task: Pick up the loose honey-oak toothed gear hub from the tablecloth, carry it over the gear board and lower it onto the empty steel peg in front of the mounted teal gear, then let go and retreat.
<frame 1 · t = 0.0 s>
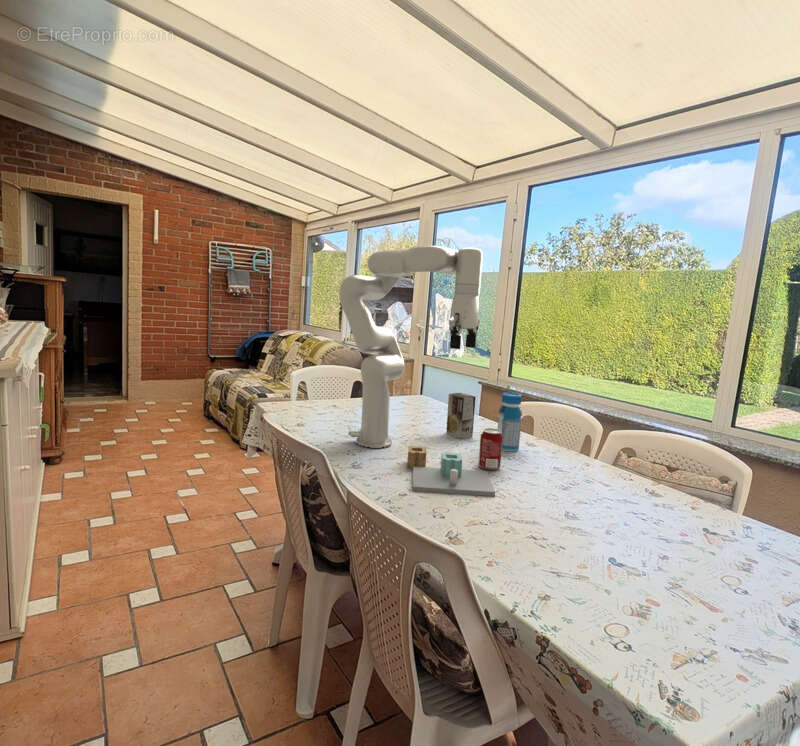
hand: (462, 348, 143), 37 cm above the table, tool pointing down, fingers open, 9 cm apart
gear board: (451, 482, 134), on the table
oak gear: (416, 464, 147), on the table
beverage bottle: (507, 449, 170), on the table
soda can: (488, 468, 148), on the table
coffee box: (459, 435, 184), on the table
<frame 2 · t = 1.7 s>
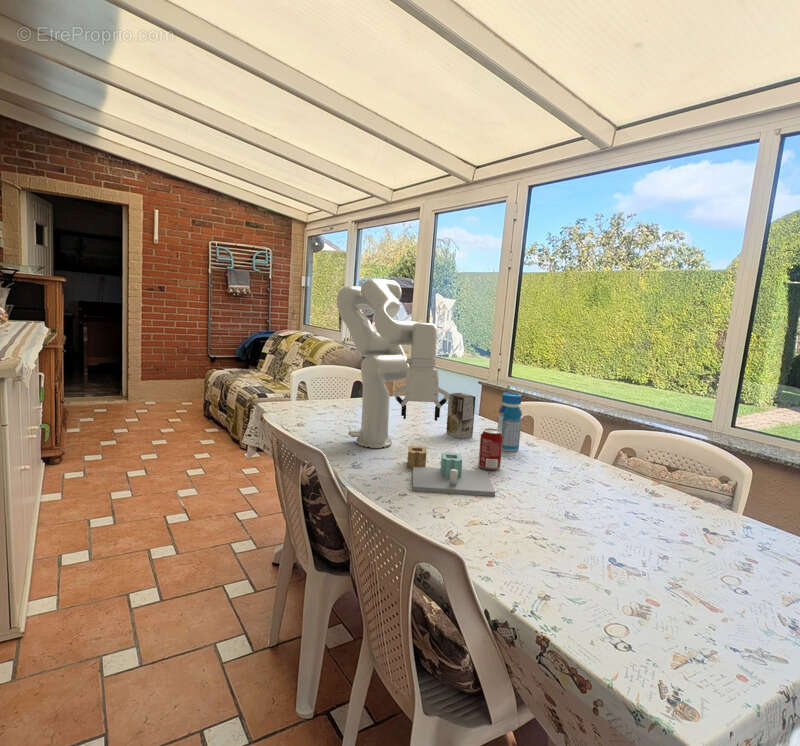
hand: (420, 419, 144), 15 cm above the table, tool pointing down, fingers open, 9 cm apart
nothing on the table moved.
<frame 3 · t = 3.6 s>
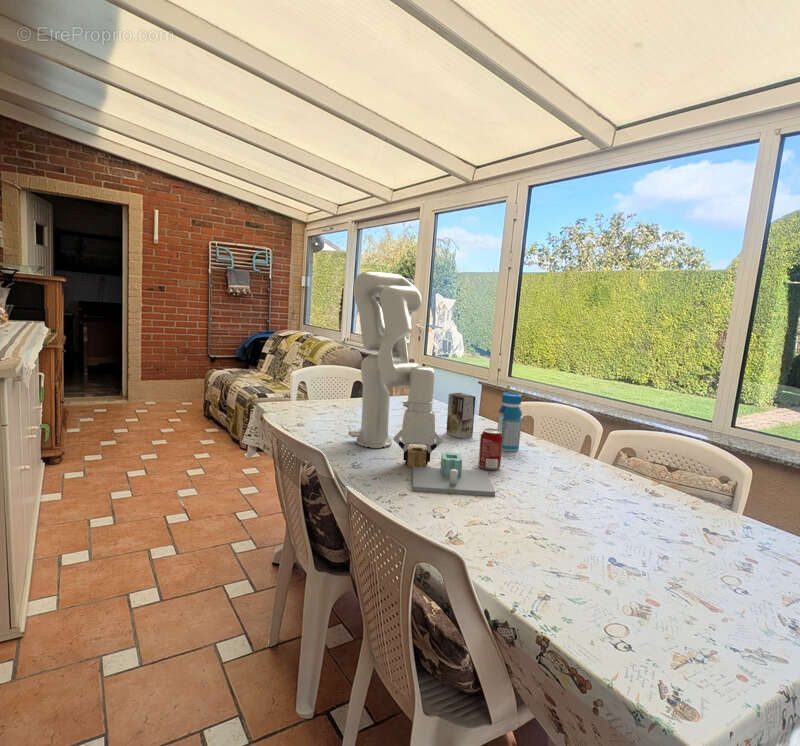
hand: (416, 462, 147), 1 cm above the table, tool pointing down, fingers closed on oak gear, 5 cm apart
oak gear: (416, 464, 147), on the table, touching gripper
everything else where it was.
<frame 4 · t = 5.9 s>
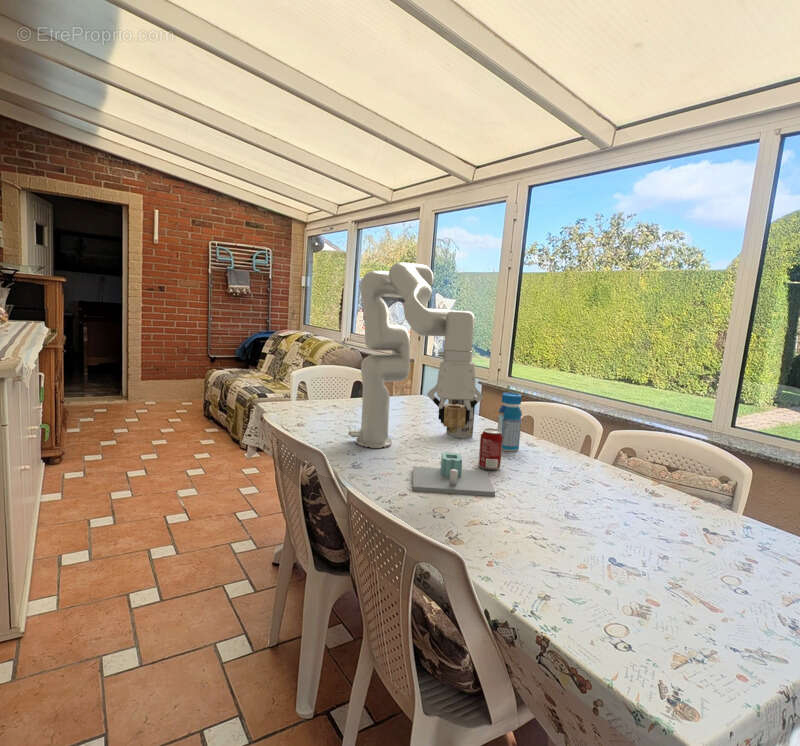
hand: (453, 422, 128), 18 cm above the table, tool pointing down, fingers closed on oak gear, 5 cm apart
oak gear: (453, 424, 129), point 18 cm above the table, touching gripper
everything else where it was.
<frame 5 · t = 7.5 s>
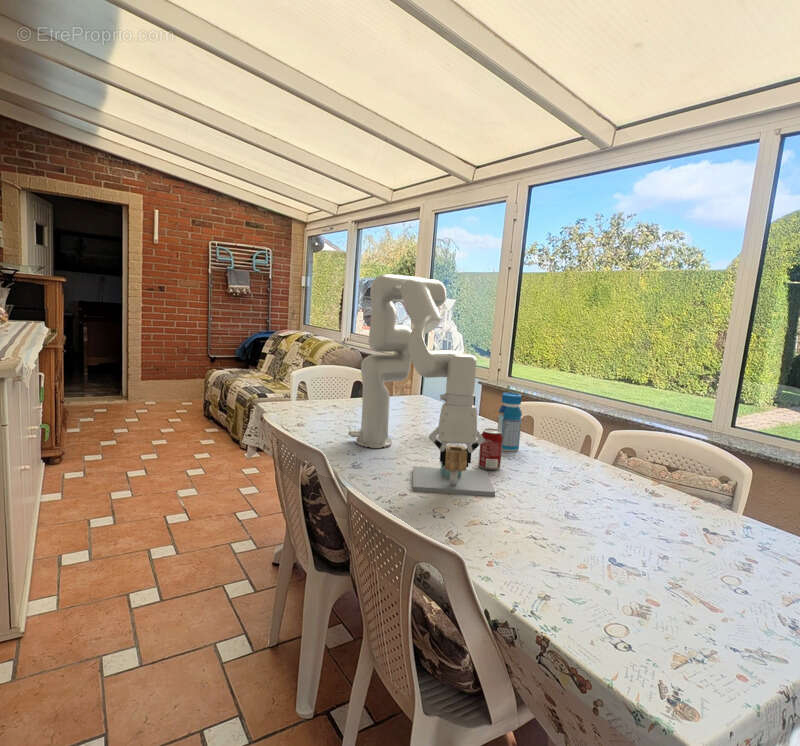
hand: (454, 464, 128), 7 cm above the table, tool pointing down, fingers closed on oak gear, 5 cm apart
oak gear: (454, 466, 128), point 6 cm above the table, touching gripper
everything else where it was.
when the fingers open (3 cm above the table, at t = 8.7 s): oak gear drops 1 cm, resting on gear board.
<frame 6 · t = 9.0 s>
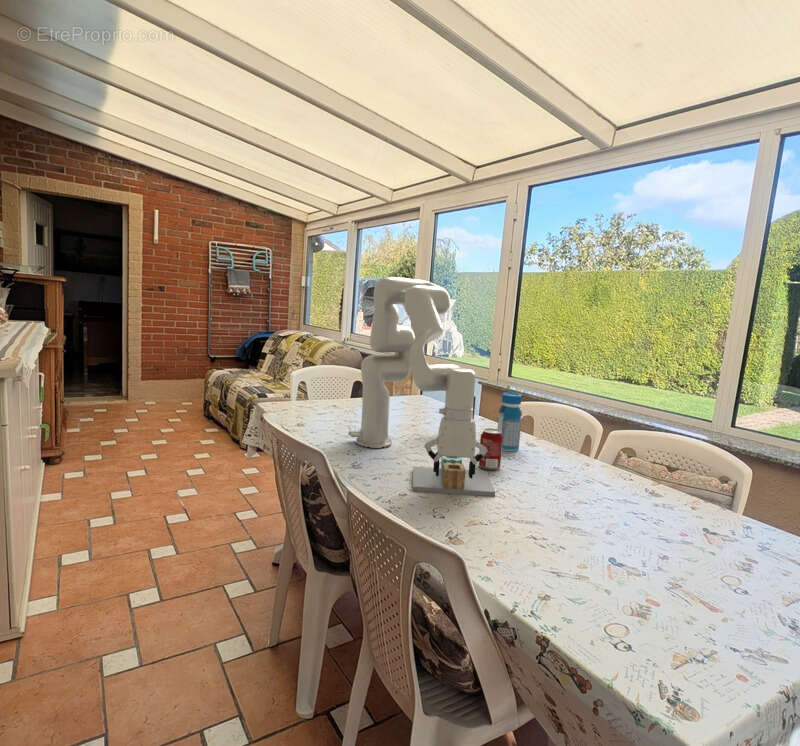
hand: (453, 475, 129), 4 cm above the table, tool pointing down, fingers open, 8 cm apart
oak gear: (452, 484, 129), point 1 cm above the table, touching gear board
everything else where it was.
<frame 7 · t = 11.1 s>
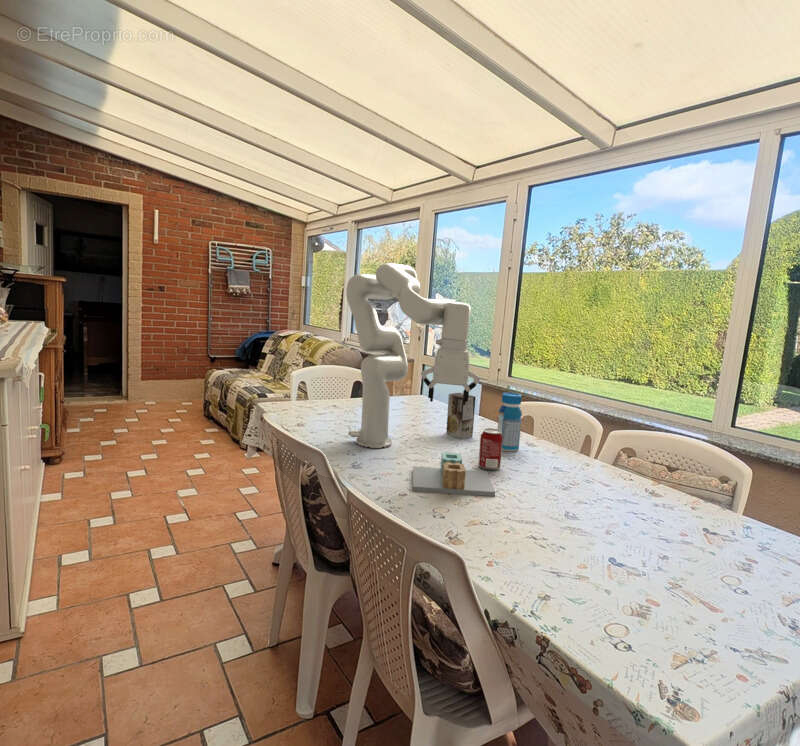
hand: (447, 402, 139), 21 cm above the table, tool pointing down, fingers open, 9 cm apart
nothing on the table moved.
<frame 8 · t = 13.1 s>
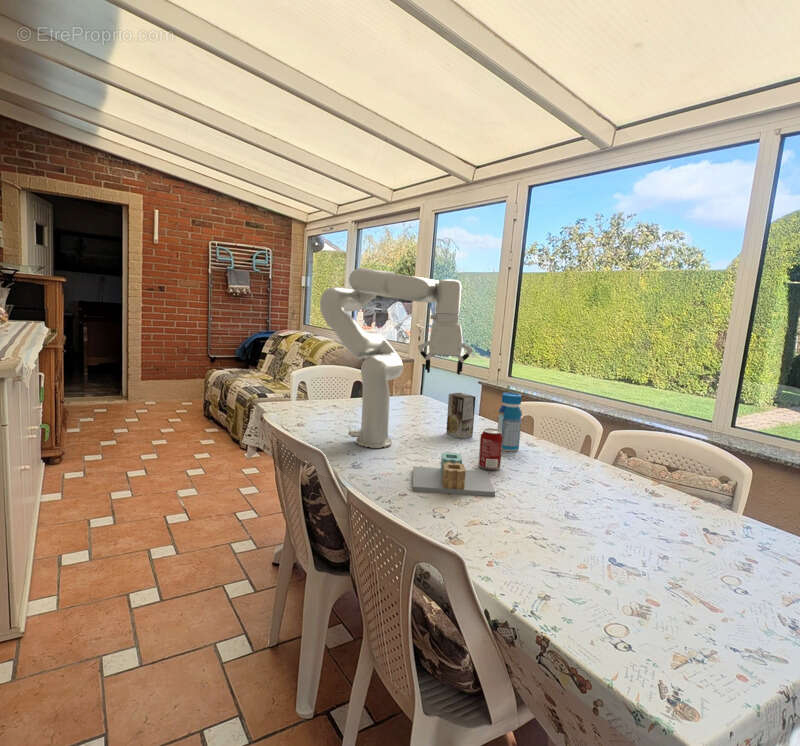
hand: (443, 373, 151), 28 cm above the table, tool pointing down, fingers open, 9 cm apart
nothing on the table moved.
at the end: oak gear 0.0 cm from the target spot on the gear board, point 1.2 cm above the gear board's base; oak gear tilted 0°; the gripper is holding nothing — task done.
